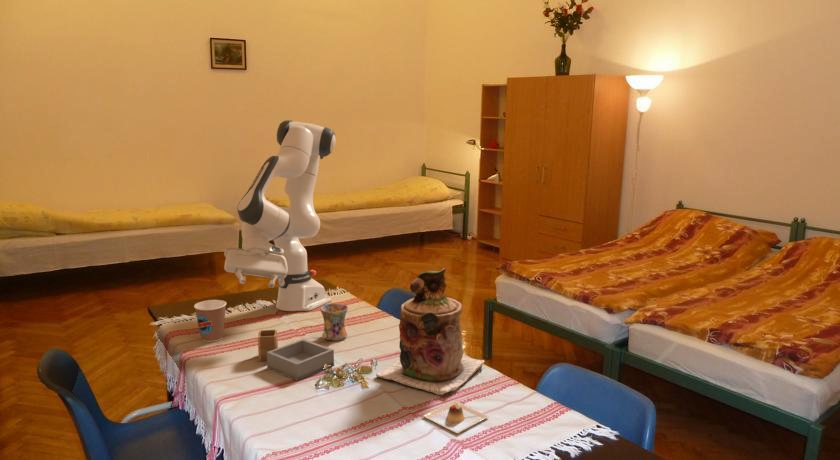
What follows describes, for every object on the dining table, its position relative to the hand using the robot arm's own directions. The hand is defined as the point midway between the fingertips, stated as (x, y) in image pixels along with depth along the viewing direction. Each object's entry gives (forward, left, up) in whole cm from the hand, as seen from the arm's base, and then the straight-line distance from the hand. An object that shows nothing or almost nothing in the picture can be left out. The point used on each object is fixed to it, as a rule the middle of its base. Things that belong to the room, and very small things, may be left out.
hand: (257, 284), depth 193 cm
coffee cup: (+6, -19, -21) cm, 29 cm away
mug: (-21, +11, -21) cm, 32 cm away
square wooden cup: (+4, +9, -21) cm, 23 cm away
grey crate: (+2, +22, -21) cm, 31 cm away
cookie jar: (-20, +55, -21) cm, 62 cm away
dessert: (-3, +76, -22) cm, 80 cm away
